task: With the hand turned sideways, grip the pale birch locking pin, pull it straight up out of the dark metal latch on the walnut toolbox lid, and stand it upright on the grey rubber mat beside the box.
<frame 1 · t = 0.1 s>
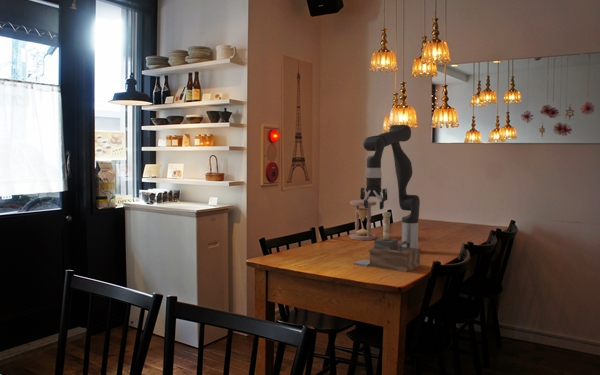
hand: (373, 208, 263), 29 cm above the table, tool pointing down, fingers open, 8 cm apart
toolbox: (394, 266, 263), on the table
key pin: (386, 247, 265), point 9 cm above the table, touching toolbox
hourglass: (362, 238, 348), on the table
mat: (364, 263, 269), on the table
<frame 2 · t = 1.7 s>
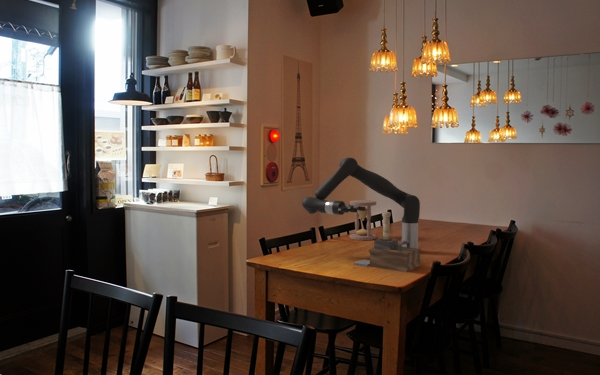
hand: (361, 209, 273), 28 cm above the table, tool horizontal, fingers open, 8 cm apart
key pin: (386, 247, 265), point 9 cm above the table, tilted 5°, touching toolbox
everything else where it was.
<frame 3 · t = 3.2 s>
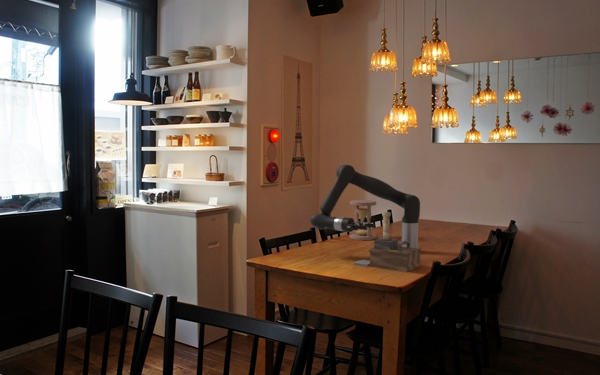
hand: (370, 226, 270), 19 cm above the table, tool horizontal, fingers open, 8 cm apart
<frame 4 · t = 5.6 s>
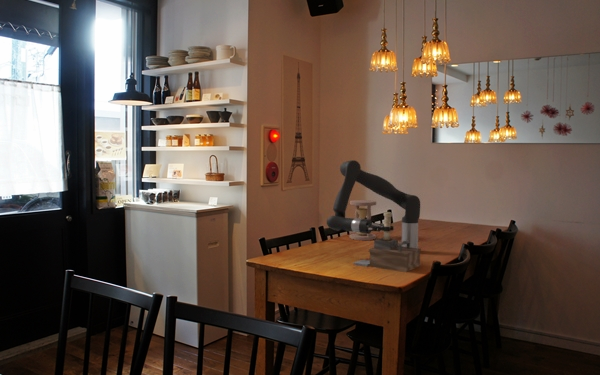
hand: (391, 228, 263), 19 cm above the table, tool horizontal, fingers closed on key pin, 3 cm apart
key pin: (386, 247, 265), point 9 cm above the table, touching gripper, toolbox
everything else where it was.
when the fingers open (12 cm above the table, at t = 11.4 s): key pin drops 1 cm, resting on mat.
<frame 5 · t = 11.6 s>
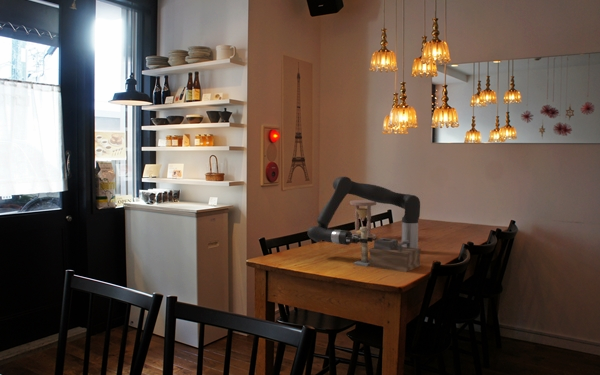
hand: (369, 240, 266), 12 cm above the table, tool horizontal, fingers open, 4 cm apart
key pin: (364, 261, 268), point 1 cm above the table, touching mat
everything else where it was.
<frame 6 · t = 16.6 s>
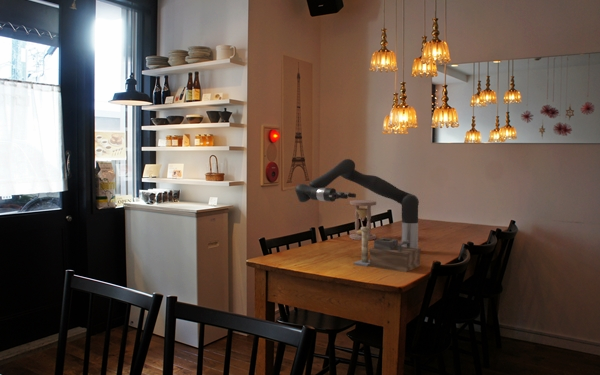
hand: (351, 196, 280), 34 cm above the table, tool horizontal, fingers open, 8 cm apart
nothing on the table moved.
at the end: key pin inside the target area (0.1 cm from its centre), point 1.0 cm above the table; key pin tilted 2°; the gripper is holding nothing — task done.
